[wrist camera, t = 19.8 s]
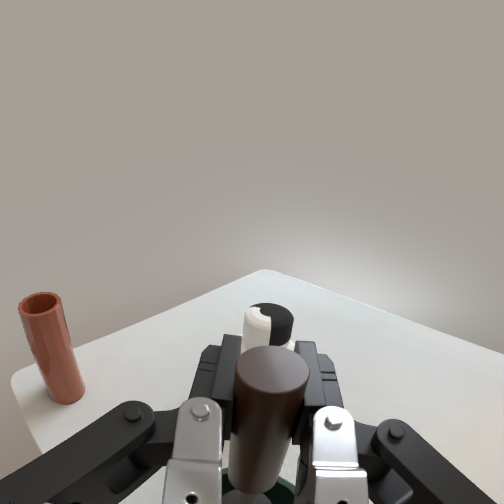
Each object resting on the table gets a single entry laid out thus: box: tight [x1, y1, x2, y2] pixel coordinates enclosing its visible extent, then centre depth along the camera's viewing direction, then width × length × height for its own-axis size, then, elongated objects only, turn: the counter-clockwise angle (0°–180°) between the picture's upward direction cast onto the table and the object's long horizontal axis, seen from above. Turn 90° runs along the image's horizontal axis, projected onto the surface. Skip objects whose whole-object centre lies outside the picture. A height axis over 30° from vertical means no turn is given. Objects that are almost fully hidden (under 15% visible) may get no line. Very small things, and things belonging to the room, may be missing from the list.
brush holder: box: [18, 292, 85, 404], centre depth 31 cm, size 6×6×14 cm
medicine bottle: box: [237, 303, 295, 354], centre depth 39 cm, size 7×7×12 cm
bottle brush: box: [222, 346, 310, 504], centre depth 11 cm, size 3×3×17 cm
